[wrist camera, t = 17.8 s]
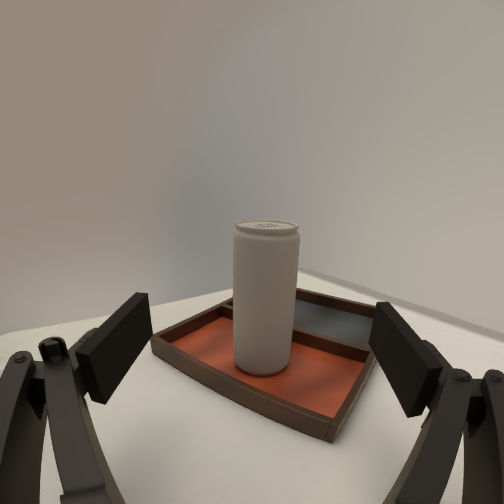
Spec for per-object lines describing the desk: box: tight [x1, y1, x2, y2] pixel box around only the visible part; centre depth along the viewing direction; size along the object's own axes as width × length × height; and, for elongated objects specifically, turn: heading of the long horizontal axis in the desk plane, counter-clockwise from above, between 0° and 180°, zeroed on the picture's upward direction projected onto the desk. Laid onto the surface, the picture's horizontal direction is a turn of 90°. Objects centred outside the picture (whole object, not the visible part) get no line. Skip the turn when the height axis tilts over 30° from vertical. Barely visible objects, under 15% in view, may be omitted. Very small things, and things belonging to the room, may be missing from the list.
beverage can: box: [233, 219, 300, 376], centre depth 22 cm, size 5×5×12 cm
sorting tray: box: [150, 288, 377, 443], centre depth 28 cm, size 18×20×2 cm
